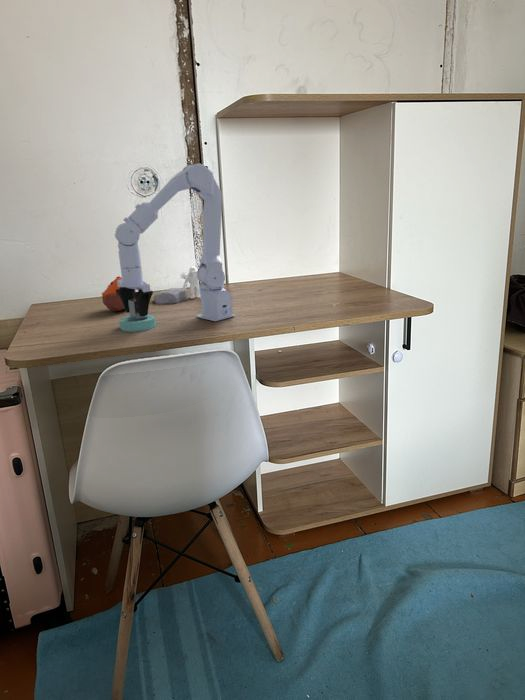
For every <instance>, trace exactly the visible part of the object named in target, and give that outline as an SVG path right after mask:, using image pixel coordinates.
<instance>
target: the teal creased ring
mask: <svg viewBox="0 0 525 700" xmlns="http://www.w3.org/2000/svg"><path fill="white" fill-rule="evenodd" d="M156 326H157V320H156V316H155V315H153V314H148V315H146V319H145V320H141V321H131V319H130V315H127V316H124V317H121V318H120V319H119V328H120V330H121V331H122V332H128V333H130V332H143V331H148V330H151V329H153V328H155V327H156Z"/></svg>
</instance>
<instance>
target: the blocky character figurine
mask: <svg viewBox="0 0 525 700" xmlns="http://www.w3.org/2000/svg"><path fill="white" fill-rule="evenodd" d="M198 267H200V262H199V263H196V264H195V265H193V266H192V265H191V266H190V267H189V269H188V273H187V271H183V272H181V273H180V279H184V283H183V286H182V289H185V288H186V287H188V284H190V285H189V292H190V293H189V296H190V297H189V299H195V298H197V299H199V298H200V284H199V283H200V281H199V279H198V277H197V271H198V269H199V268H198ZM195 291H196V293H195ZM195 294H196V296H195ZM200 299H201V298H200Z"/></svg>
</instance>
